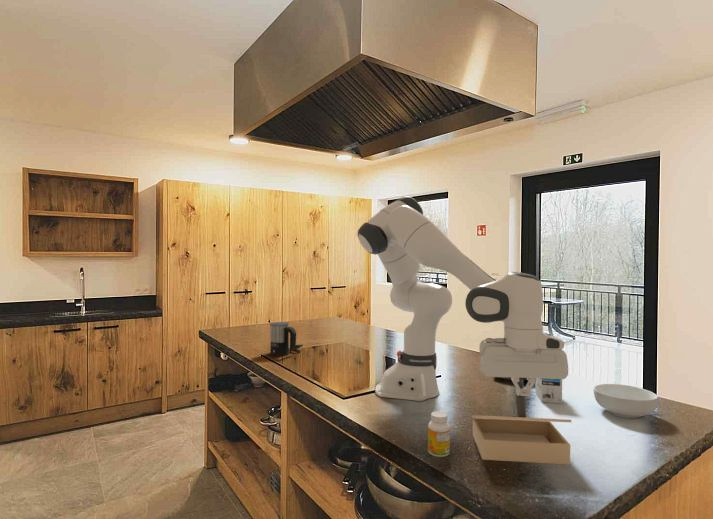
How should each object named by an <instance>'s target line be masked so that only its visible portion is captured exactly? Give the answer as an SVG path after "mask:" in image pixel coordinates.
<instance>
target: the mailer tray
mask: <svg viewBox="0 0 713 519" xmlns="http://www.w3.org/2000/svg"><path fill="white" fill-rule="evenodd" d="M482 432H493V433H513V434H532V435H544V436H545V437H546V439H547V440H548V441H549V443H545V442H526V441H507V440H487V439H484V437H483V434H482ZM472 437H473V440H474V442H475V444H476V448H477V449H478V453H479V455H480V457H481V460H483V461H484V460H485V461H502V462H515V463H516V462H517V463H531V464H532V463H537V464H550V465H551V464H553V465H554V464H555V465H571V443H570V442H569V441H568V440H567V439H566V438H565V437H564V436H563V435H562V433H561V432H560V431H558V429H557V428H556V427H555V426H554V424H553V422H551V421H530V420H509V419H488V418H473V417H472Z"/></svg>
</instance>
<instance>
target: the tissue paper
mask: <svg viewBox="0 0 713 519" xmlns="http://www.w3.org/2000/svg"><path fill="white" fill-rule="evenodd" d="M482 434H483V437H484V439H487V440H507V441H526V442H545V443H549V441H548V440H547V439H546V437H545V436H544V435H532V434H513V433H493V432H482Z"/></svg>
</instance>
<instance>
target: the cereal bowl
mask: <svg viewBox="0 0 713 519" xmlns="http://www.w3.org/2000/svg"><path fill="white" fill-rule="evenodd" d="M593 397H594V400H595V401H596V403H597V404H598V405H599V406H600V407H602V409H604V410H606V411H609V412H610V414H612V415H615V416H617V417H620V418H625V419H627V418H628V419H639V418H640V417H641V416H642V417H643V416H648V415H650V414H652V413H654V412H655V410H656V409H657V407H658V403H659V396H658V395H657V394H656V393H654V392H653V391H651V390H648V389H644V388H642V387H638V386H637V387H636V386H632V385H627V384H618V383H617V384H616V383H602V384H597V385H595V386H594V387H593Z"/></svg>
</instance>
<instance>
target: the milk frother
mask: <svg viewBox="0 0 713 519" xmlns="http://www.w3.org/2000/svg"><path fill="white" fill-rule="evenodd" d="M289 325H290V323H289V322H288V321H287V322H285V321H275V322H270V323H269V326H270V327H269V328H270V329H269V330H270V332H269V333H270V336H269V337H270V352H269V355H270V354H271V355H270V356H274V355H275V356H280V357H281V356H287V355H289V354H290V352H292V351H297V350H298V349H300V348H302V347H303V346H304V344H303V343H302V344H297V331H296V329H295V328H294V327H291V326H289Z"/></svg>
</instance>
